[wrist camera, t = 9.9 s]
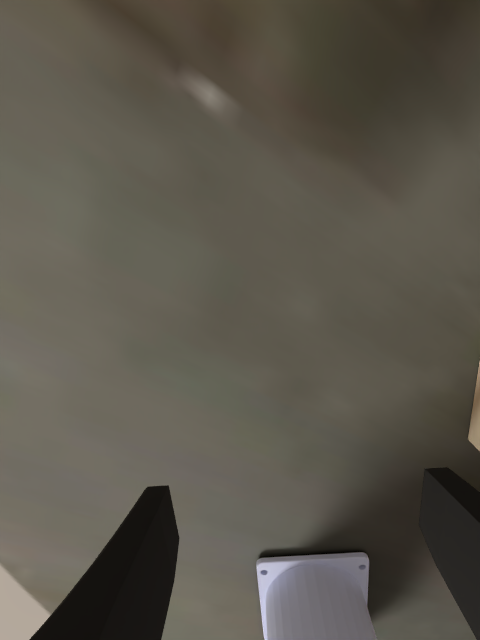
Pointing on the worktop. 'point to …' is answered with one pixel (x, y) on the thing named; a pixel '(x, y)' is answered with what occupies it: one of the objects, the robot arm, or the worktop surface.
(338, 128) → the worktop surface
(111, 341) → the worktop surface
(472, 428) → the base block
